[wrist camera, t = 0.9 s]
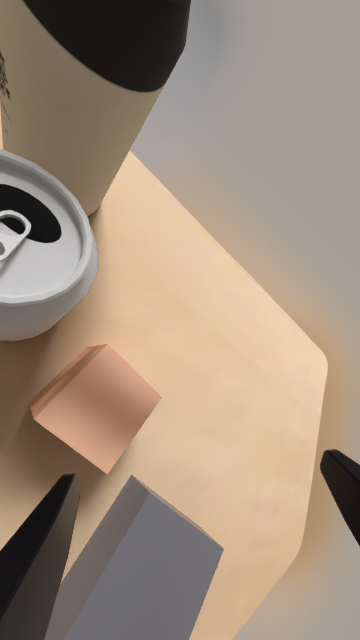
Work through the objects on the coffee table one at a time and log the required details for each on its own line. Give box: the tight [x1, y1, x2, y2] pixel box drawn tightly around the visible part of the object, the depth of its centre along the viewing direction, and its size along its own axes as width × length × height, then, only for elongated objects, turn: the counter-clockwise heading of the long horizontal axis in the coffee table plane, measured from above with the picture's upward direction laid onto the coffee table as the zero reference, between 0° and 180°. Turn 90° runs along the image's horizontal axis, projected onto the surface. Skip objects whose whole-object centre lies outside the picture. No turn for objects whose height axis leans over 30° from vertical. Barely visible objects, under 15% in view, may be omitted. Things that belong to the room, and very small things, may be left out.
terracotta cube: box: [29, 344, 162, 475], centre depth 18 cm, size 6×6×6 cm
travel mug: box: [0, 0, 191, 216], centre depth 14 cm, size 8×8×18 cm
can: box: [0, 150, 98, 341], centre depth 13 cm, size 8×8×12 cm
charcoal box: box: [44, 475, 224, 640], centre depth 19 cm, size 11×11×4 cm
